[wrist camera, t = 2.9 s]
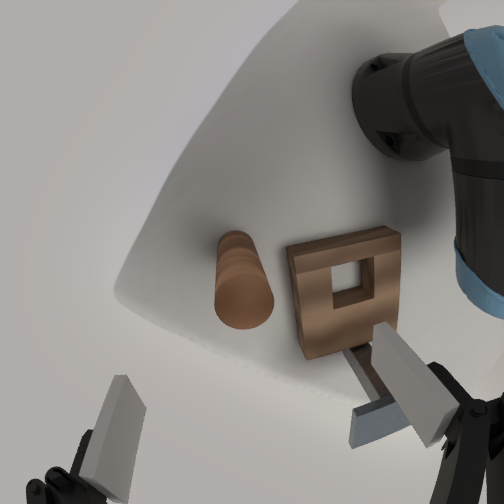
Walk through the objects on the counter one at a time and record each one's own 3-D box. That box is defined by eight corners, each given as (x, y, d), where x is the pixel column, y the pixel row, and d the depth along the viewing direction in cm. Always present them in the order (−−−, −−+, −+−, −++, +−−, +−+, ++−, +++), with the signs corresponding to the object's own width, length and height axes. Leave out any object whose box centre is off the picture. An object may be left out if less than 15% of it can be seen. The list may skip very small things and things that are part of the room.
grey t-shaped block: (311, 326, 38) (356, 417, 22) (384, 305, 39) (451, 374, 22) (314, 362, 40) (351, 449, 24) (382, 341, 41) (436, 411, 25)
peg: (214, 234, 33) (208, 283, 20) (250, 227, 33) (269, 271, 20) (222, 269, 34) (222, 334, 21) (257, 262, 34) (278, 322, 21)
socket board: (286, 246, 34) (293, 257, 30) (384, 226, 35) (400, 233, 31) (299, 343, 39) (306, 360, 35) (383, 319, 39) (396, 332, 36)
